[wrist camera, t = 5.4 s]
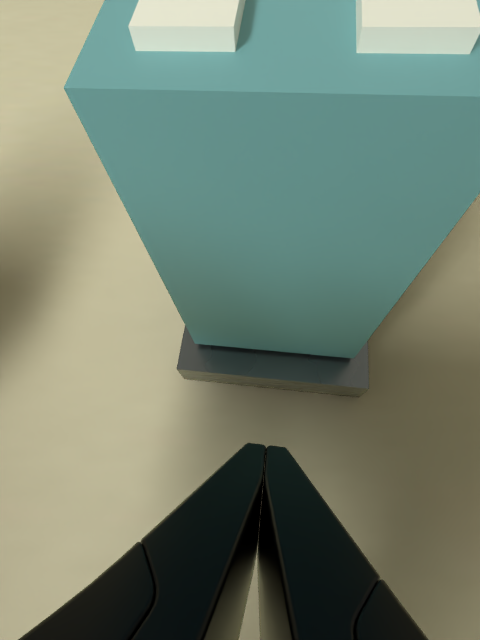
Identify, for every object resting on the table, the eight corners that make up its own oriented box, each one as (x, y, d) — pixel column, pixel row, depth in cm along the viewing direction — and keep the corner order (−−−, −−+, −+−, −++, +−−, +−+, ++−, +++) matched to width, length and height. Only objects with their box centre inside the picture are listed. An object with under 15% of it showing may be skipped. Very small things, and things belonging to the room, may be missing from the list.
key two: (362, 359, 13) (602, 71, 4) (194, 343, 14) (51, 64, 5) (361, 287, 14) (543, -67, 5) (206, 276, 15) (113, -58, 6)
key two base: (358, 397, 15) (396, 365, 10) (184, 378, 15) (155, 342, 11) (357, 242, 17) (386, 170, 13) (211, 233, 18) (195, 162, 14)
